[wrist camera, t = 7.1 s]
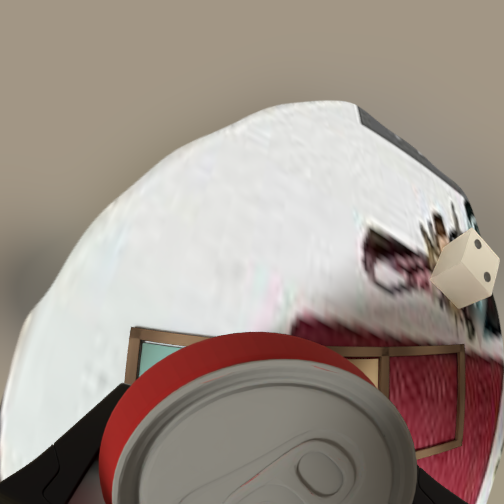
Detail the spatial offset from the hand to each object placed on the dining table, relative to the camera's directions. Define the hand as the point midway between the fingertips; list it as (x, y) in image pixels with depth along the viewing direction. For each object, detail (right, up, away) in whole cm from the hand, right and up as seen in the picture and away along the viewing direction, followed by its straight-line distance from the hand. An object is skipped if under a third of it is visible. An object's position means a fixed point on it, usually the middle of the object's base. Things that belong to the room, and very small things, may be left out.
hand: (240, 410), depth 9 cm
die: (+22, +2, +20) cm, 30 cm away
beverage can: (-1, -4, +6) cm, 7 cm away
